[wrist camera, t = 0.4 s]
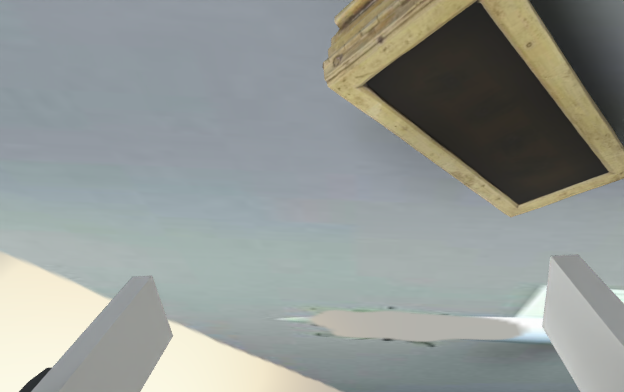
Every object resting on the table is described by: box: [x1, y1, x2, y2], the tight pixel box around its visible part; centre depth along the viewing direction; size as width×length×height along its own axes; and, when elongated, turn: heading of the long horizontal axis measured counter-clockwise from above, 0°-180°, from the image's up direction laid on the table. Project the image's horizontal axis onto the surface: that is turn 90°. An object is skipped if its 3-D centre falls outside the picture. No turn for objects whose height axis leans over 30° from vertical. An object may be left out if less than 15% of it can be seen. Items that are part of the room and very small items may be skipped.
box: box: [323, 0, 624, 217], centre depth 23 cm, size 8×22×5 cm, turn 48°
